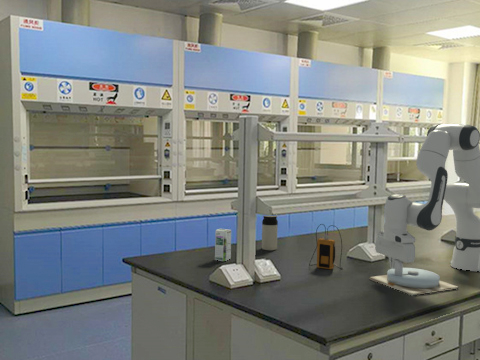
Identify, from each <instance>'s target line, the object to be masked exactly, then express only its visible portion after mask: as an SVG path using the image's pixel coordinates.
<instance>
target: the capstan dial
mask: <svg viewBox="0 0 480 360" xmlns="http://www.w3.org/2000/svg"><path fill="white" fill-rule="evenodd" d="M386 275H387V280H388V281H390V282H392V283H394V284H397V285H401V286H405V287H412V288H433V287H437V286H438V285H439V280H440V281H441V279H440V278H441V277H440V274H437V273H436V272H433V271H431V270H426V269H422V268H414V267H404V262H403V261H400V260H395V269H392V268H389V269H388V270H387V272H386Z"/></svg>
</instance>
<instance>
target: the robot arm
mask: <svg viewBox="0 0 480 360" xmlns="http://www.w3.org/2000/svg"><path fill="white" fill-rule="evenodd" d="M479 143H480V131H479V129H478V128H477V127H476V126H474V125H470V124H463V123H462V124H461V123H447V124H446V123H445V124H443V123H442V124H441V123H437V124H434V125H432V126H431V127H430V128H429V129H428V130H427V132H426V137H425V139H424V141H423V143H422V145H421V147H420V149H419V152H418V154H417V158H416V167H417V170H418V171H419V173H421V174H422V175H423V176H425V177H426V178H428V179H429V180H430V183H431V186H430V190H429V196H428V199H427V200H428V201H426V203H421V202H417V201H416V202H415V201H414V200H413V201H412V200H410V199H409V198H408V197H407V195H405V194H402V193H401V194H399V193H397V194H391V195H388V197H386V200H385V203H384V211H383V213H384V214H383V217H384V224H383V230H380V231H379V232H378V233H377V237H376V240H375V245H374V247H375V249H374V250H375V252H376V253H378V254H380V255H383V256H386V257H388V261H389V264H390V268H389V269H395V260H400V261H403V263H407V264H409V263H414V261H415V259H416V246H415V244H414V243H416V240H417V239H416V237H415V236H414V235H413V234H412V233H410V232H409V231H408V230H407V225H408V226H411V227H415V228H420V229H423V230H425V231H433V230H434V229H436V228H438V226H439V225H440V224H441V223H442V218H443V216H442V215H443V204H444V202H445V203H446V204H448V205H449V206H450V208H451V209H452V211H453V213H454V215H455V222H456V233H455V234H456V235H455V236H454V244H455V246H454V247H453V251H452V256H451V257H452V258H451V260H450V261H449V263H450V266H451V267H452V268H454V269H456V268H457V269H458V270H460V269H462V270H461V271H466V270H470V271H469V272H477V271H479V273H480V216H478V215H476V214H475V213H474V211H473V208H474V209H480V145H479ZM450 151H452V155H453V156H452V157H453V163H454V172H455V174H456V176H457V177H458V178H460V179H461V180H462V181H464V182H451V183H448V177H449V176H448V175H449V174H448V171H447V169H446V162H447V159H448V156H449V153H450Z"/></svg>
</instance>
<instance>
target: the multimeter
mask: <svg viewBox="0 0 480 360" xmlns="http://www.w3.org/2000/svg"><path fill="white" fill-rule="evenodd" d="M321 225H322V226H324V237H323V238H322V237H320V238H317V237H318V236H317V232H318V228H319V227H320V226H321ZM330 227H335V228H336V229H337V231H338V233H339V236H340V244H341V246H343V241H342V240H343V239H342V235H341V232H340V229H339V228H338V227H337V226H336V225H333V224H332V225H329V226H328V227H327V228H326V225H325V224H324V223H321V224H319V225H318V226H317V228H316V231H315V240H316V246H315V247H316V248H315V250H314V251H313V254H312V256H311V259H310V261H309V264H308V266H309V267H311V266H316V267H317V268H319V269H320V268H321V269H326V270H327V269H328V270H333V269H334V268H335V267H334V266H336V267H337V268H338V269H341V270H343V267H341V266H340V265H338V264H337V263H335V260H336V241H335V240H334V239H329V228H330ZM326 230H327V231H326ZM315 252H316V263H315V264H311V262H312V259H313V257H314V254H315ZM342 255H343V248H341V251H340V256H342ZM341 261H342V257H340V260H339V264H341V263H342V262H341Z"/></svg>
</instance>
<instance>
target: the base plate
mask: <svg viewBox="0 0 480 360" xmlns="http://www.w3.org/2000/svg"><path fill="white" fill-rule="evenodd" d="M369 280H371V281H373V282H376V283H377V282H378V284H380V285H382V284H383V285H382V286H385V285H386V286H385V287H387V286H389V287H388V288H390V287H391V289H392V288H394V289H393V290H395V289H397V290H400V291H403V292H406V293H409V294H412V295H413V294H419V293H426V292H432V291H439V290H445V289H451V288H458V289H459V286H457V285H454V284H451V283H449V282H446V281H442V280H441V279H440V280H439V285H438V286H437V287H433V288H412V287H405V286H401V285H397V284H394V283H392V282H390V281H388V280H387V274H383V275H376V276H370V277H369ZM397 290H396V291H397ZM400 291H399V292H400Z"/></svg>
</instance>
